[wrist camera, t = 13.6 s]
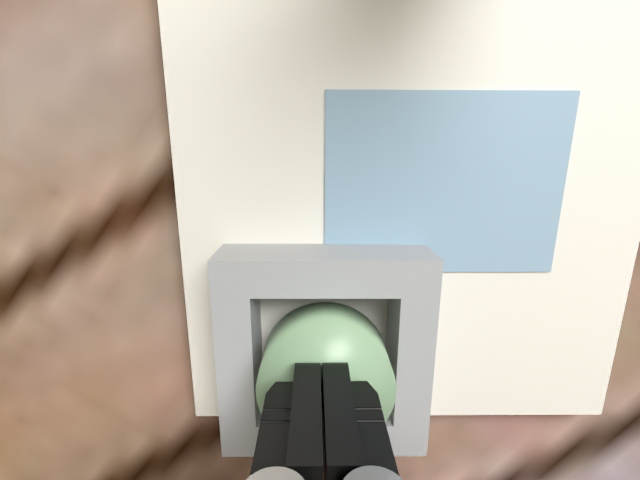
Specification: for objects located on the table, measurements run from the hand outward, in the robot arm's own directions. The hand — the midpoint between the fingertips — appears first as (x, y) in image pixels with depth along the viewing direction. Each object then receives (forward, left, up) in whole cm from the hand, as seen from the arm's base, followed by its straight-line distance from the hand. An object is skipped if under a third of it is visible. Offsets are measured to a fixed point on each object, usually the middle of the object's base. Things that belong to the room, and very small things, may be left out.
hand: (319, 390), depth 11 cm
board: (-3, -8, -4) cm, 10 cm away
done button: (0, 0, -2) cm, 2 cm away
